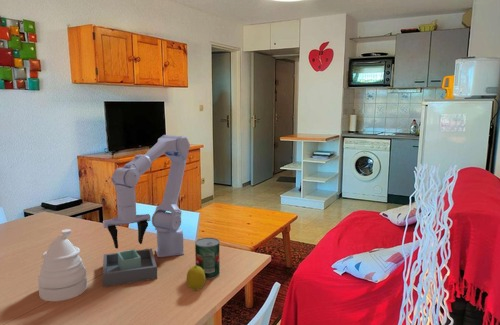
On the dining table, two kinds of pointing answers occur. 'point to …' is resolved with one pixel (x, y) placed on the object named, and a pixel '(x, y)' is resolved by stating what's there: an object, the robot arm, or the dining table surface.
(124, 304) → the dining table surface
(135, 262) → the teal crate
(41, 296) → the honey pot
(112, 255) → the charcoal crate
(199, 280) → the lemon
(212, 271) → the canned tomato
